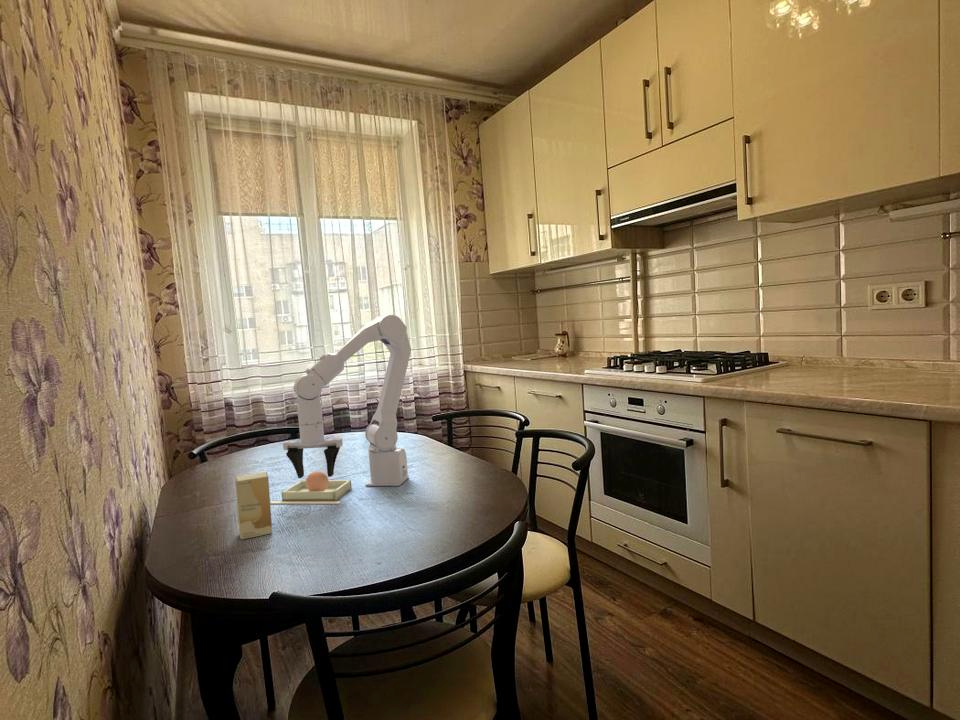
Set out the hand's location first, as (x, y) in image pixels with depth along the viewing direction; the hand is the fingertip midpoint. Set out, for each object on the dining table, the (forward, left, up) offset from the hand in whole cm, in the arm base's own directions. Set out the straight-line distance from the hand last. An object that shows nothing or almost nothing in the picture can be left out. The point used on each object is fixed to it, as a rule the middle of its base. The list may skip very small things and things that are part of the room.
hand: (315, 476), depth 137 cm
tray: (0, 0, -5) cm, 5 cm away
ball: (0, 0, -2) cm, 2 cm away
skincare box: (+1, +25, -5) cm, 25 cm away
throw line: (0, +6, -5) cm, 8 cm away
